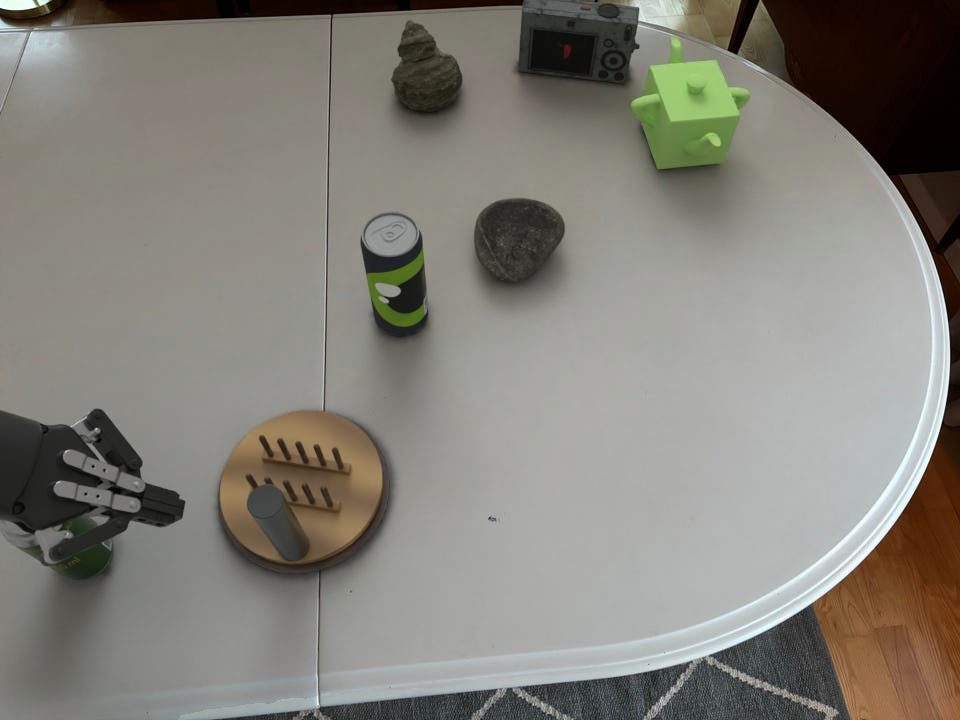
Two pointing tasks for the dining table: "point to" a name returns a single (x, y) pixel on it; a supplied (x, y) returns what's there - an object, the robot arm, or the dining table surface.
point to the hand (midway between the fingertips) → (179, 512)
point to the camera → (578, 39)
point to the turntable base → (333, 559)
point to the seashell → (424, 71)
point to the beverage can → (395, 272)
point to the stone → (516, 237)
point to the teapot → (688, 111)
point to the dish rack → (301, 487)
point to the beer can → (74, 566)
